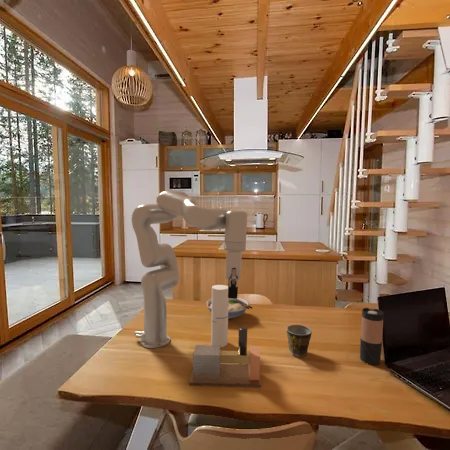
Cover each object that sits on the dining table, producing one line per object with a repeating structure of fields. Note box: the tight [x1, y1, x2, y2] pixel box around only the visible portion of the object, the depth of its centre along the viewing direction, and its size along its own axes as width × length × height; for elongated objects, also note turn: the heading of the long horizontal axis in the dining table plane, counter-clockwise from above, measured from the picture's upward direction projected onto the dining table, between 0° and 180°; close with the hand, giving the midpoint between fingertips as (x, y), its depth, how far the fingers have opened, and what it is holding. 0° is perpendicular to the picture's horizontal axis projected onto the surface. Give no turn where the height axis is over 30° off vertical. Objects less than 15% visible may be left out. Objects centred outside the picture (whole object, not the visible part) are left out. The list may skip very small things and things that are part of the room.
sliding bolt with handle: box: [220, 326, 250, 364], centre depth 105 cm, size 16×3×12 cm, turn 89°
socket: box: [248, 345, 261, 380], centre depth 105 cm, size 3×7×8 cm, turn 179°
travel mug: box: [359, 307, 384, 366], centre depth 117 cm, size 8×8×20 cm
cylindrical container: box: [210, 284, 229, 348], centre depth 129 cm, size 7×7×25 cm
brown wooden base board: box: [188, 344, 262, 388], centre depth 106 cm, size 24×12×9 cm, turn 89°
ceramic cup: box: [286, 324, 313, 358], centre depth 121 cm, size 13×10×10 cm
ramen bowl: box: [206, 297, 253, 320], centre depth 160 cm, size 25×23×8 cm
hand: (232, 293), depth 106 cm, fingers open, 9 cm apart
